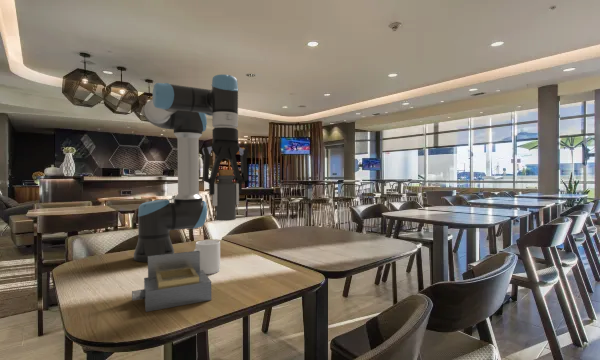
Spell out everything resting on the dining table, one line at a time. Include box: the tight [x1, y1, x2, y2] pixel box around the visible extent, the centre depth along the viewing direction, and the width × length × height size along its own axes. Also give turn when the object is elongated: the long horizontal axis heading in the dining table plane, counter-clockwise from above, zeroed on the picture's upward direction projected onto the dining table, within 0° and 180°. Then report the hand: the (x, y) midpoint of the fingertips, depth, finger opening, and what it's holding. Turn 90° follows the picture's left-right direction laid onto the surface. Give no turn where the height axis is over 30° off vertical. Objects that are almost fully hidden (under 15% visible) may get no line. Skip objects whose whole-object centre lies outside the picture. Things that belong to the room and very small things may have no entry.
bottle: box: [215, 169, 237, 222], centre depth 97 cm, size 6×6×15 cm
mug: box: [193, 239, 221, 276], centre depth 111 cm, size 12×8×10 cm
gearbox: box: [131, 250, 212, 313], centre depth 87 cm, size 12×19×11 cm, turn 117°
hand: (225, 204), depth 97 cm, fingers closed on bottle, 6 cm apart
